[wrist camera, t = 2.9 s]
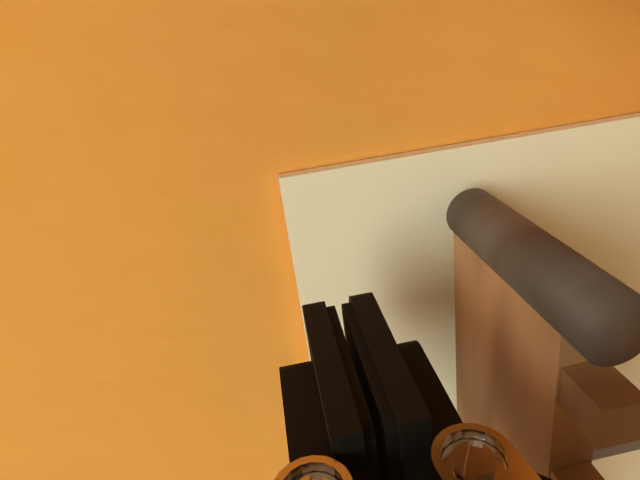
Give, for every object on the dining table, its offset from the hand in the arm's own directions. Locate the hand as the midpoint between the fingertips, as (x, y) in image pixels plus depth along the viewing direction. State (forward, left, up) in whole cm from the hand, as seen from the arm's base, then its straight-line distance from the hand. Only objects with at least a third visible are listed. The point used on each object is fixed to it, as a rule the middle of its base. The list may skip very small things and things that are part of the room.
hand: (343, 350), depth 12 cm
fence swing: (0, -5, -2) cm, 6 cm away
